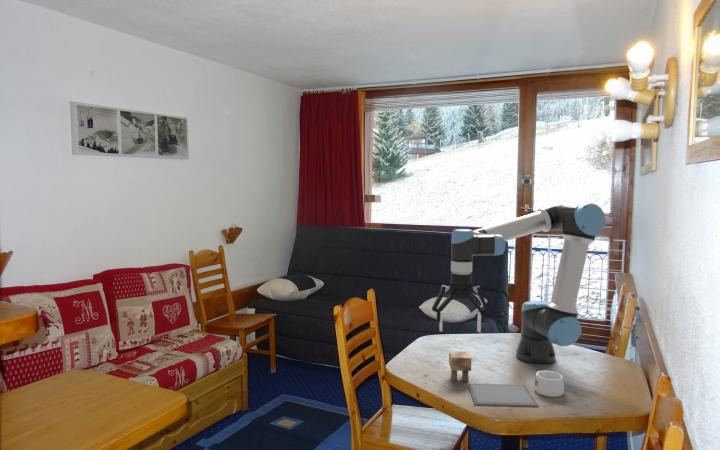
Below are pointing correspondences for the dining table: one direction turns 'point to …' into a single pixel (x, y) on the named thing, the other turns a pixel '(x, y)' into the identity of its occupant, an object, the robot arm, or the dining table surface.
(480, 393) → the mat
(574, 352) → the dining table surface
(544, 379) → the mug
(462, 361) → the small wooden stool
